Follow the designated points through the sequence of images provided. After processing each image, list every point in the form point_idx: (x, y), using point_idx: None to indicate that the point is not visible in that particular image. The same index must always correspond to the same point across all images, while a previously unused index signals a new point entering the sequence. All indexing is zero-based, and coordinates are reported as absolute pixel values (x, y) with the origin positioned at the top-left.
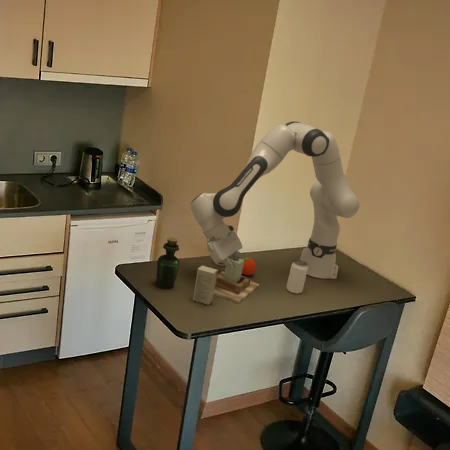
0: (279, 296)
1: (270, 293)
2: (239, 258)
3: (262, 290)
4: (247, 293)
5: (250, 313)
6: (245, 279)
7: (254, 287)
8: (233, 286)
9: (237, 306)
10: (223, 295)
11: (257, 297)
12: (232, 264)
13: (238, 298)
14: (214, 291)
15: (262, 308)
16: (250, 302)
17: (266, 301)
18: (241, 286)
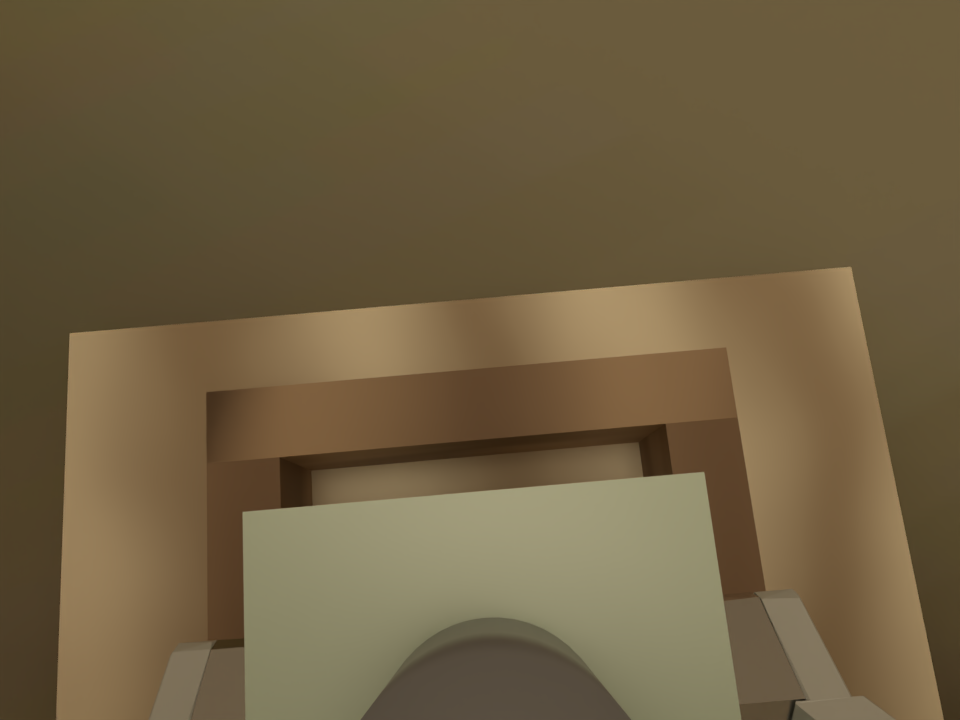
0: (169, 28)
1: (176, 140)
2: (258, 710)
3: (172, 252)
4: (529, 303)
5: (934, 61)
6: (327, 438)
7: (242, 331)
8: (738, 462)
9: (923, 252)
10: (898, 520)
11: (443, 200)
12: (776, 674)
13: (793, 313)
14: (929, 691)
15: (680, 25)
16: (663, 194)
17: (453, 74)
18: (635, 357)
